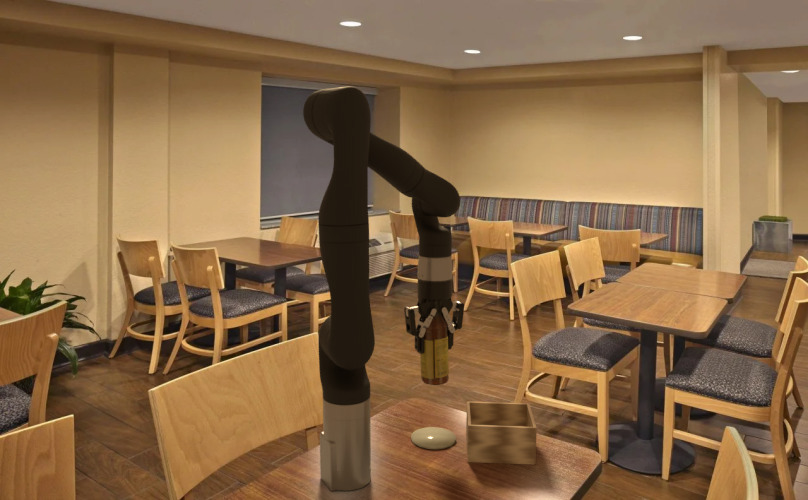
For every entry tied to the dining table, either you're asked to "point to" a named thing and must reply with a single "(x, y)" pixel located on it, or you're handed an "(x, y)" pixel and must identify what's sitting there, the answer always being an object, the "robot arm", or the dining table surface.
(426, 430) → the saucer
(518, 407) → the caddy
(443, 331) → the sauce bottle
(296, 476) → the dining table surface
